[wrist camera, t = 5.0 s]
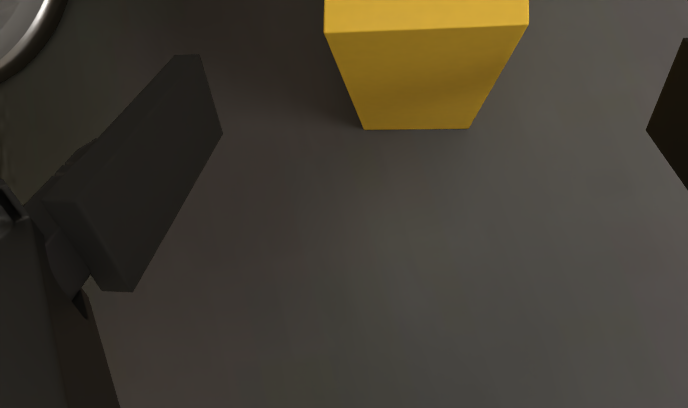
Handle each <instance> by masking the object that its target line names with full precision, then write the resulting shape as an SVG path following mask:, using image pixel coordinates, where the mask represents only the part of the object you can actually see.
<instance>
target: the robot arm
mask: <svg viewBox="0 0 688 408" xmlns="http://www.w3.org/2000/svg"><path fill="white" fill-rule="evenodd" d="M67 1H68V0H0V83H1V82H3V81H5V80H7V79H8V78H10V77H11V76H13V75H14V74H16V73H17V72H18V71H20V70H21V69H22V68H23V67H25V66H26V65H27V64H28V63H29V62H30V61H31V60H32V59H33V58H34V57H35V56H36V55H37V54H38V53H39V51H40V50H41V49H42V48H43V47H44V45H45V44H46V43H47V41H48V40H49V38H50V37H51V35H52V34H53V32H54V30H55V29H56V27H57V25H58V23H59V21H60V19H61V17H62V14H63V12H64V9H65V7H66V4H67ZM646 131H647V133H648V134H649V136H650V137H651V138H652V140H653V141H654V143H655V144H656V146H657V147H658V148H659V150H660V151H661V153H662V154H663V156H664V157H665V158H666V160H667V161H668V163H669V164H670V166H671V167H672V168H673V170H674V171H675V173H676V174H677V176H678V177H679V178H680V180H681V181H682V183H683V184H684V186H685V187H686V188H687V190H688V38H683V40H682V42H681V45H680V47H679V50H678V52H677V55H676V57H675V60H674V62H673V65H672V67H671V69H670V72H669V74H668V77H667V79H666V82H665V84H664V87H663V89H662V91H661V94H660V96H659V99H658V101H657V104H656V106H655V109H654V111H653V113H652V116H651V118H650V121H649V123H648V126H647V128H646ZM222 134H223V132H222V129H221V125H220V122H219V119H218V115H217V112H216V109H215V105H214V102H213V99H212V95H211V92H210V89H209V85H208V82H207V79H206V75H205V72H204V68H203V65H202V62H201V58H200V55H199V54H194V55H175V56H174V57H173V58H172V59H171V60H170V61H169V62H168V63H167V64H166V65H165V66H164V68H163V69H162V70H161V71H160V72H159V73H158V74H157V75H156V76H155V77H154V78H153V79H152V80H151V81H150V83H149V84H148V85H147V86H146V87H145V88H144V89H143V90H142V91H141V92H140V93H139V94H138V95H137V97H136V98H135V99H134V100H133V101H132V102H131V103H130V104H129V105H128V106H127V107H126V108H125V109H124V111H123V112H122V113H121V114H120V115H119V116H118V117H117V118H116V119H115V120H114V121H113V122H112V123H111V124H110V126H109V127H108V128H107V129H106V130H105V131H104V132H103V133H102V134H101V135H100V136H99V137H98V138H95V139H94V140H92V141H91V142H89V143H87V144H86V145H84V146H83V147H81V148H79V149H78V150H77V151H76V152H75V153H74V154H73V155H72V156H71V157H70V158H69V159H68V160H67V161H66V162H65V165H62V166H61V167H60V168H59V169H58V170H57V171H56V173H55V176H52V177H51V178H50V179H49V180H48V181H47V182H46V183H45V184H44V185H43V186H42V187H41V188H40V189H39V190H38V191H37V192H36V193H35V194H34V195H33V197H32V198H31V199H30V200H29V201H28V202H27V203H26V204H25V205H24V206H22V205H21V203H20V202H19V200H18V199H17V198H16V196H15V195H14V194H13V192H12V191H11V189H10V188H9V187H8V185H7V184H6V182H5V181H4V180H3V179H0V408H120V405H119V402H118V398H117V395H116V391H115V388H114V384H113V381H112V378H111V374H110V371H109V367H108V364H107V360H106V357H105V353H104V350H103V346H102V343H101V339H100V336H99V333H98V329H97V326H96V322H95V319H94V315H93V312H92V308H91V305H90V301H89V298H88V296H87V295H86V293H85V292H84V290H83V289H82V288H81V287H82V286H83V284H84V283H85V281H86V280H87V278H88V277H89V275H90V274H91V276H92V277H93V279H94V280H95V282H96V283H97V285H98V286H99V287H100V289H101V290H102V291H115V292H133V291H134V289H135V287H136V286H137V284H138V282H139V280H140V279H141V277H142V275H143V273H144V271H145V270H146V268H147V266H148V264H149V263H150V261H151V259H152V257H153V256H154V254H155V252H156V250H157V249H158V247H159V245H160V243H161V242H162V240H163V238H164V236H165V235H166V233H167V231H168V229H169V228H170V226H171V224H172V222H173V221H174V219H175V217H176V215H177V214H178V212H179V210H180V208H181V206H182V205H183V203H184V201H185V199H186V198H187V196H188V194H189V192H190V191H191V189H192V187H193V185H194V184H195V182H196V180H197V178H198V177H199V175H200V173H201V171H202V170H203V168H204V166H205V164H206V163H207V161H208V159H209V157H210V156H211V154H212V152H213V150H214V148H215V147H216V145H217V143H218V141H219V140H220V138H221V136H222Z"/></svg>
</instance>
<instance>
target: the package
mask: <svg viewBox="0 0 688 408" xmlns="http://www.w3.org/2000/svg"><path fill="white" fill-rule="evenodd" d="M528 24H529V0H324V29H323V32H324V35H325V37H326V40H327V42H328V44H329V47H330V49H331V52H332V54H333V56H334V59H335V61H336V64H337V66H338V68H339V71H340V73H341V76H342V78H343V80H344V83H345V85H346V88H347V90H348V92H349V95H350V97H351V100H352V102H353V104H354V107H355V109H356V112H357V114H358V117H359V119H360V121H361V124H362V126H363V129H364V130H391V129H468V128H469V127H470V125H471V123H472V121H473V120H474V118H475V116H476V115H477V113H478V111H479V109H480V108H481V106H482V104H483V102H484V101H485V99H486V97H487V96H488V94H489V92H490V90H491V89H492V87H493V85H494V83H495V82H496V80H497V78H498V76H499V75H500V73H501V71H502V70H503V68H504V66H505V64H506V63H507V61H508V59H509V57H510V56H511V54H512V52H513V50H514V49H515V47H516V45H517V44H518V42H519V40H520V38H521V37H522V35H523V33H524V31H525V30H526V28H527V26H528Z"/></svg>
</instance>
